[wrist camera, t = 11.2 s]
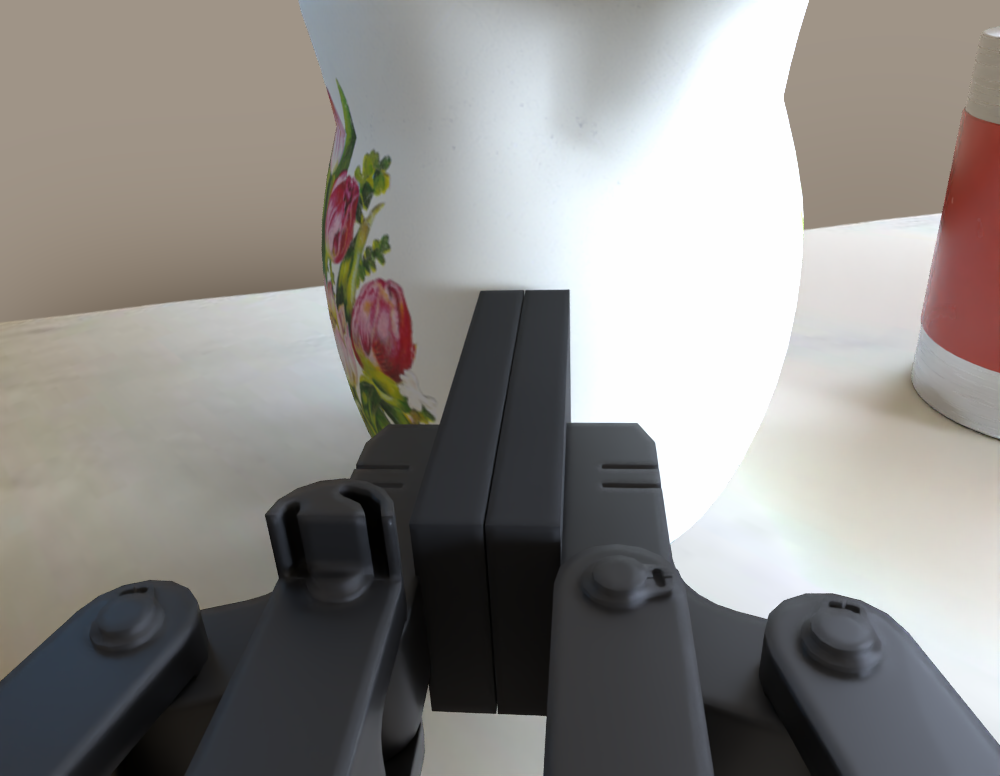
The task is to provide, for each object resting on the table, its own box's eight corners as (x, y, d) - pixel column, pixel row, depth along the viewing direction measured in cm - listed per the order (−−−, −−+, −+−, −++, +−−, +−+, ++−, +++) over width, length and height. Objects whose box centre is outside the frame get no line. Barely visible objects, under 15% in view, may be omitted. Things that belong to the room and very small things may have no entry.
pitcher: (580, 336, 33) (578, -54, 26) (949, 636, 18) (1148, -100, 11) (305, 394, 30) (228, -36, 23) (473, 822, 14) (384, -66, 8)
